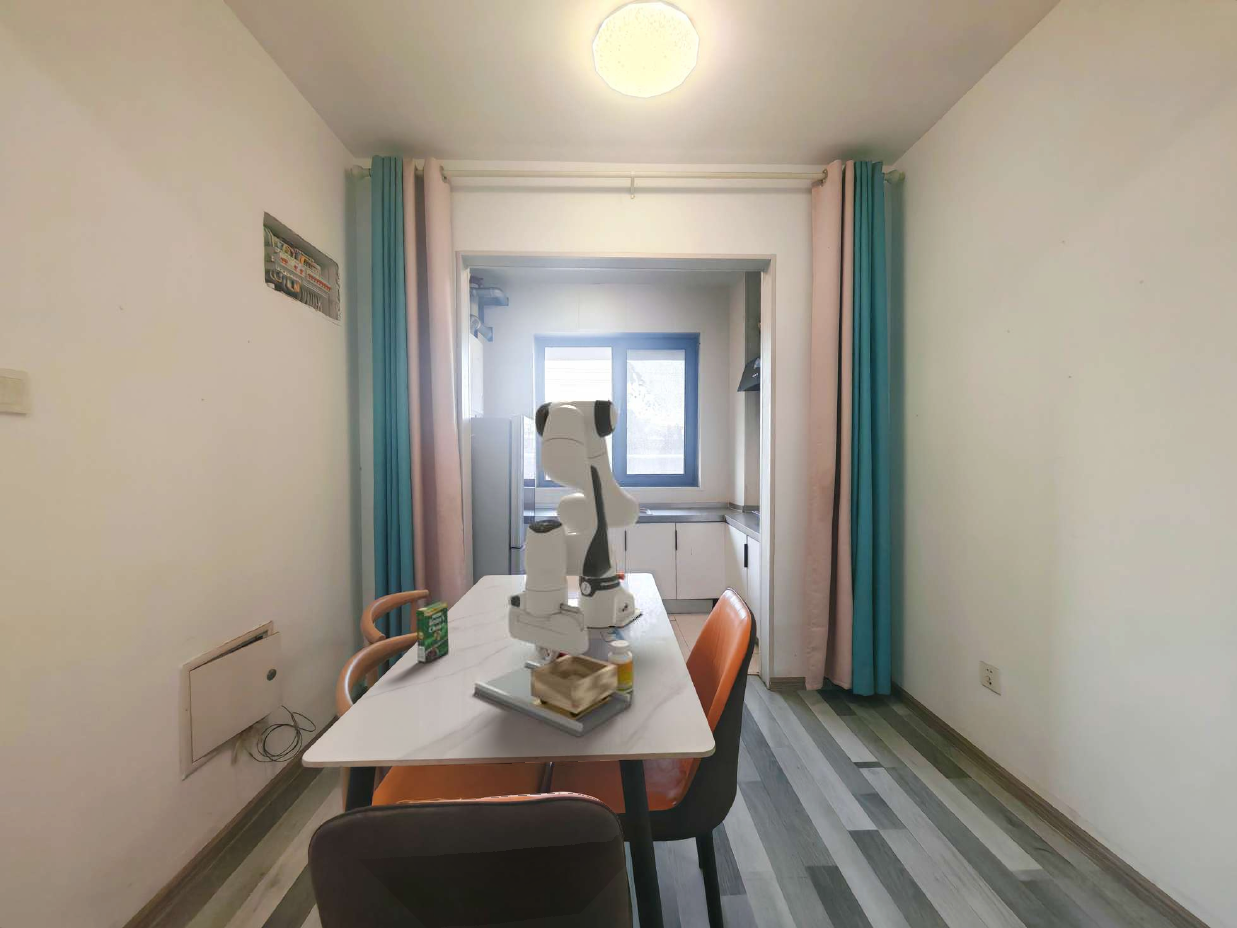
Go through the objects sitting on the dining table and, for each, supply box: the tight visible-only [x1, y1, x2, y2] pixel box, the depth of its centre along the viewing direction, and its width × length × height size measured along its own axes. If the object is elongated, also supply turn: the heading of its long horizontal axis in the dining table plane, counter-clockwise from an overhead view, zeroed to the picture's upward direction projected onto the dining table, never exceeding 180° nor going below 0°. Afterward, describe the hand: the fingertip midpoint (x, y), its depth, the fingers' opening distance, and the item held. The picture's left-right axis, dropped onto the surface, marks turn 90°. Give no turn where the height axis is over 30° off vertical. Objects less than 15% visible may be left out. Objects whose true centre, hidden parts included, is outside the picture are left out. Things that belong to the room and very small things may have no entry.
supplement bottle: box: [607, 639, 634, 694], centre depth 108 cm, size 5×5×10 cm
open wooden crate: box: [531, 654, 618, 717], centre depth 100 cm, size 12×12×6 cm
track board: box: [474, 660, 631, 738], centre depth 104 cm, size 15×30×2 cm, turn 52°
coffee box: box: [415, 601, 450, 664], centre depth 127 cm, size 8×3×13 cm, turn 154°
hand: (547, 667), depth 104 cm, fingers closed
